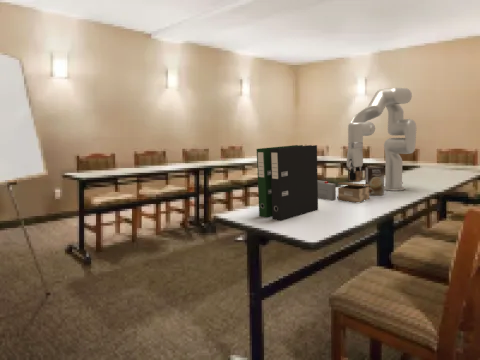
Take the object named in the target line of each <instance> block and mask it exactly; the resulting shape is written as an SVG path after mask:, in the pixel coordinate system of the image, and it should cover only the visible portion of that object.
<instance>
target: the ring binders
mask: <svg viewBox="0 0 480 360" xmlns="http://www.w3.org/2000/svg"><path fill="white" fill-rule="evenodd" d="M256 166H257V167H256V169H257V173H256V174H257V193H258V195H257V196H258V215H259V217H262V218H265V219H267V218H270V217H272V219H271V220H275V221H278V222H282V221H285V220H289V219H292V218H296V217H299V216H302V215H306V214H309V213H313V212H316V211H319V198H318V176H319V174H318V145H313V144H310V145H303V144H301V145H300V144H299V145H298V144H295V145H285V146H284V145H283V146H274V147H273V146H272V147H263V148H262V147H260V148H256Z"/></svg>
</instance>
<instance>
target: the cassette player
mask: <svg viewBox="0 0 480 360" xmlns="http://www.w3.org/2000/svg"><path fill="white" fill-rule="evenodd" d="M336 186H337V185H336V183H331V182H329V181H327V180H318V199H323V200H327V201H328V200H329V201H335V200H337V198H336V196H337V195H336V193H337V190H336V189H337V188H336Z"/></svg>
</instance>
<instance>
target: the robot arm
mask: <svg viewBox="0 0 480 360" xmlns="http://www.w3.org/2000/svg"><path fill="white" fill-rule="evenodd" d="M412 97H413V95H412V91H411V89H410V88H407V87H404V88H403V87H389V88H383V89H379V90H377V91H376V92H375V93H374V95H373V97H372V99H371V100H370V102H369V103H368V105H367V107H365V108H363V109H362V110H360V111H359V112H358V113H357V114H355V115H354V116H353V118H352V119H351V121H350V122H349V123H348V125H347V154H346V167H347V169H348V174H349V173H350V180H356V173H355V171H362V167H363V163H364V158H363V157H364V154H363V153H364V152H363V149H364V142H363V141H364V137H370V136H372V135H374V133H375V131H376V126H375V124H374V123H373V122H372V121H371V120H373V119H375V118H377V117H380V116H381V114H383V112H384V110H385V108H386V110H387V133H388V134H389V135H391V136H404V137H389V138H387V139H386V140H385V141H384V143H383V148H384V156H385V167H384V191H394V192H396V191H398V192H399V191H404V190H405V189H406V188H405V186H403V184H404V181H403V159H402V156H401V155H402V154H403V155H407V154H409V155H410V154H413V153H414V152H415V149H416V141H417V140H416V139H417V123H416V122H415V120H414V119H410V118H405V119H404V115H405V114H404V108H403V107H402V106H401V105H405V104H408V103H410V102H411V100H412ZM400 154H401V155H400Z"/></svg>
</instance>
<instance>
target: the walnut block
mask: <svg viewBox="0 0 480 360" xmlns="http://www.w3.org/2000/svg"><path fill="white" fill-rule="evenodd" d="M355 173H356V180H350V173H349V172H348V181H349V182H360V181H363V171H362V170H361V171H356V170H355Z"/></svg>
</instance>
